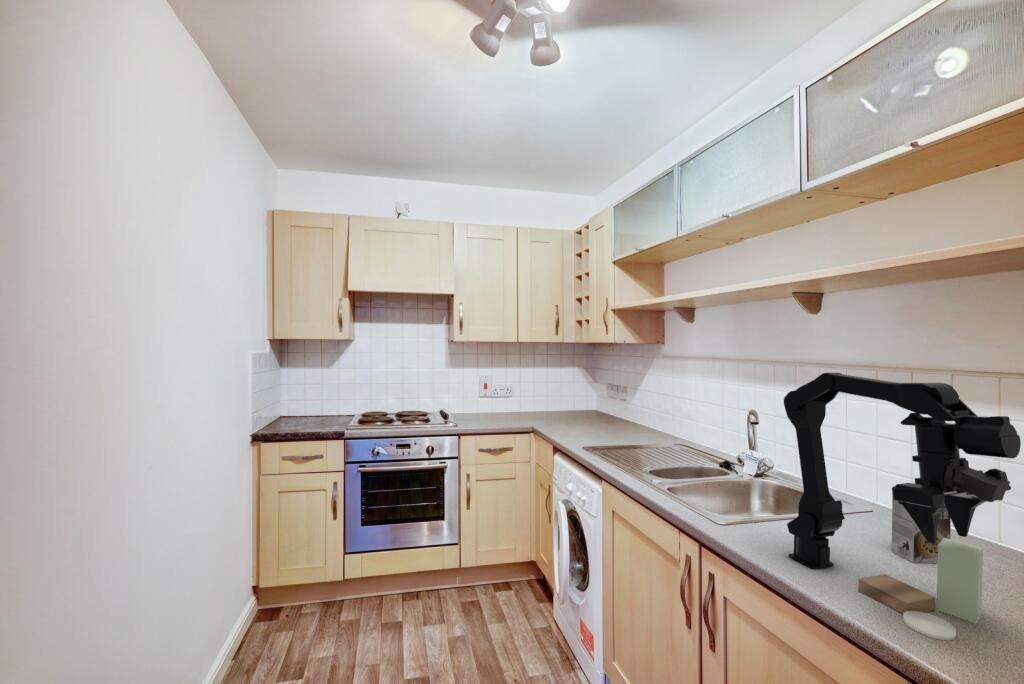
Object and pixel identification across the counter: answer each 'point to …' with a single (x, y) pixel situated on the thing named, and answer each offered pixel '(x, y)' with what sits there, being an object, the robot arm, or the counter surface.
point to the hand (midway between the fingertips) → (947, 539)
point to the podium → (896, 594)
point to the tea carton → (960, 579)
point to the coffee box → (916, 535)
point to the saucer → (929, 625)
